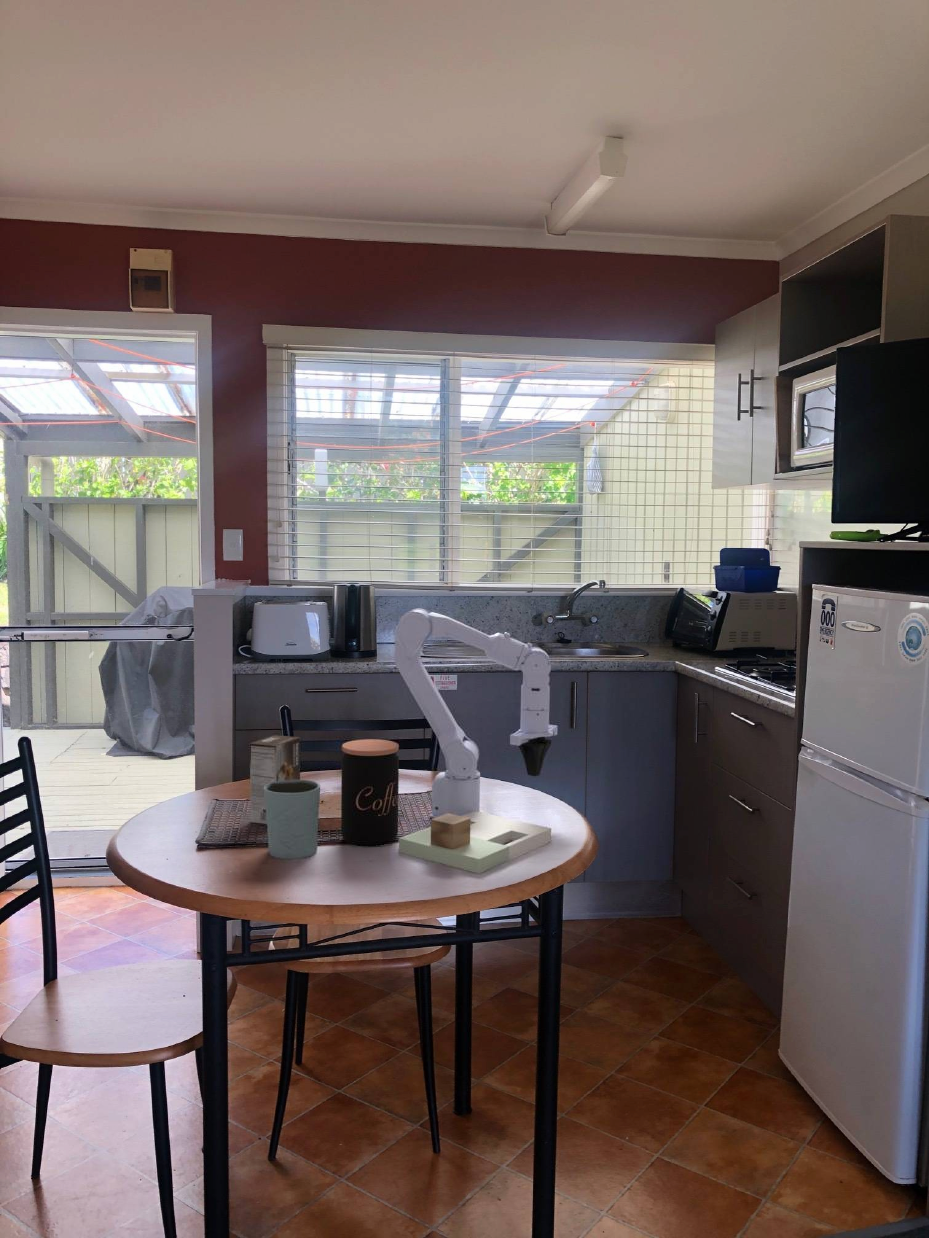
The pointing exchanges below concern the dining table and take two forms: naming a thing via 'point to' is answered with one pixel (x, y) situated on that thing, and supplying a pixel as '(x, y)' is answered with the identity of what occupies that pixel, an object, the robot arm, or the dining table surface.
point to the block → (450, 831)
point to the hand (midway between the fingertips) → (533, 775)
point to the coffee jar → (369, 792)
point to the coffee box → (271, 768)
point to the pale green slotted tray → (480, 843)
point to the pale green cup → (292, 818)
